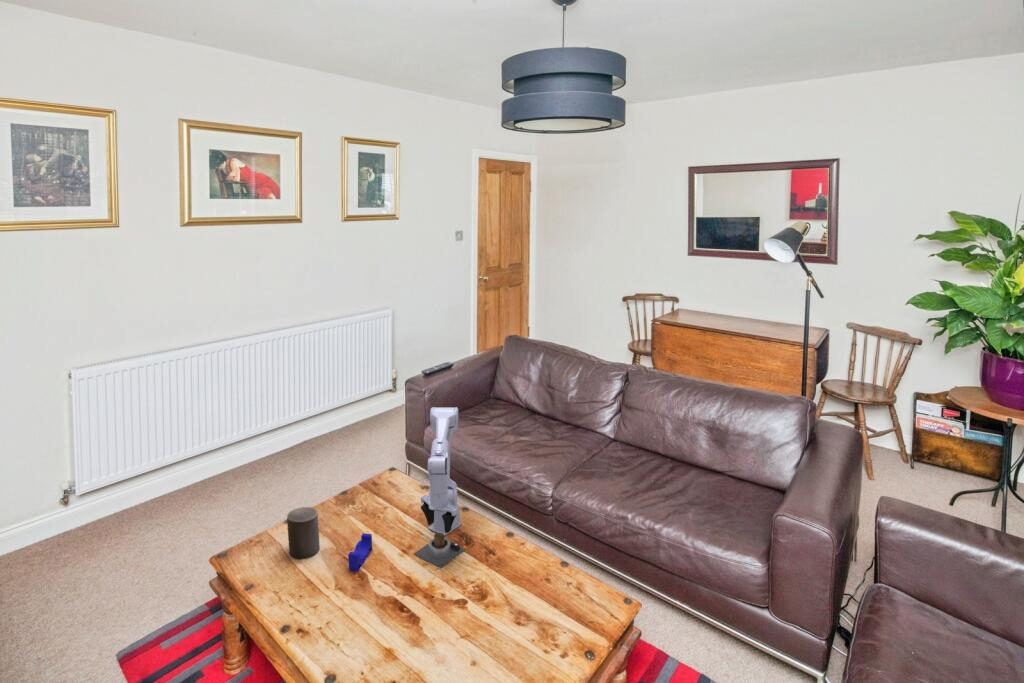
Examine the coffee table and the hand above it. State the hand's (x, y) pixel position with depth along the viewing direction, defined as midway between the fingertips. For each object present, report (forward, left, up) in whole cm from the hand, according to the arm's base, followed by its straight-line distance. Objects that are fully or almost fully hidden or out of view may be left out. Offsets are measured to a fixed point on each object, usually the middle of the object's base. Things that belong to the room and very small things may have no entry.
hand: (439, 527), depth 195 cm
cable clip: (+19, -19, -10) cm, 28 cm away
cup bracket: (0, 0, -10) cm, 10 cm away
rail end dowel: (0, 0, -9) cm, 9 cm away
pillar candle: (+26, -37, -10) cm, 46 cm away
